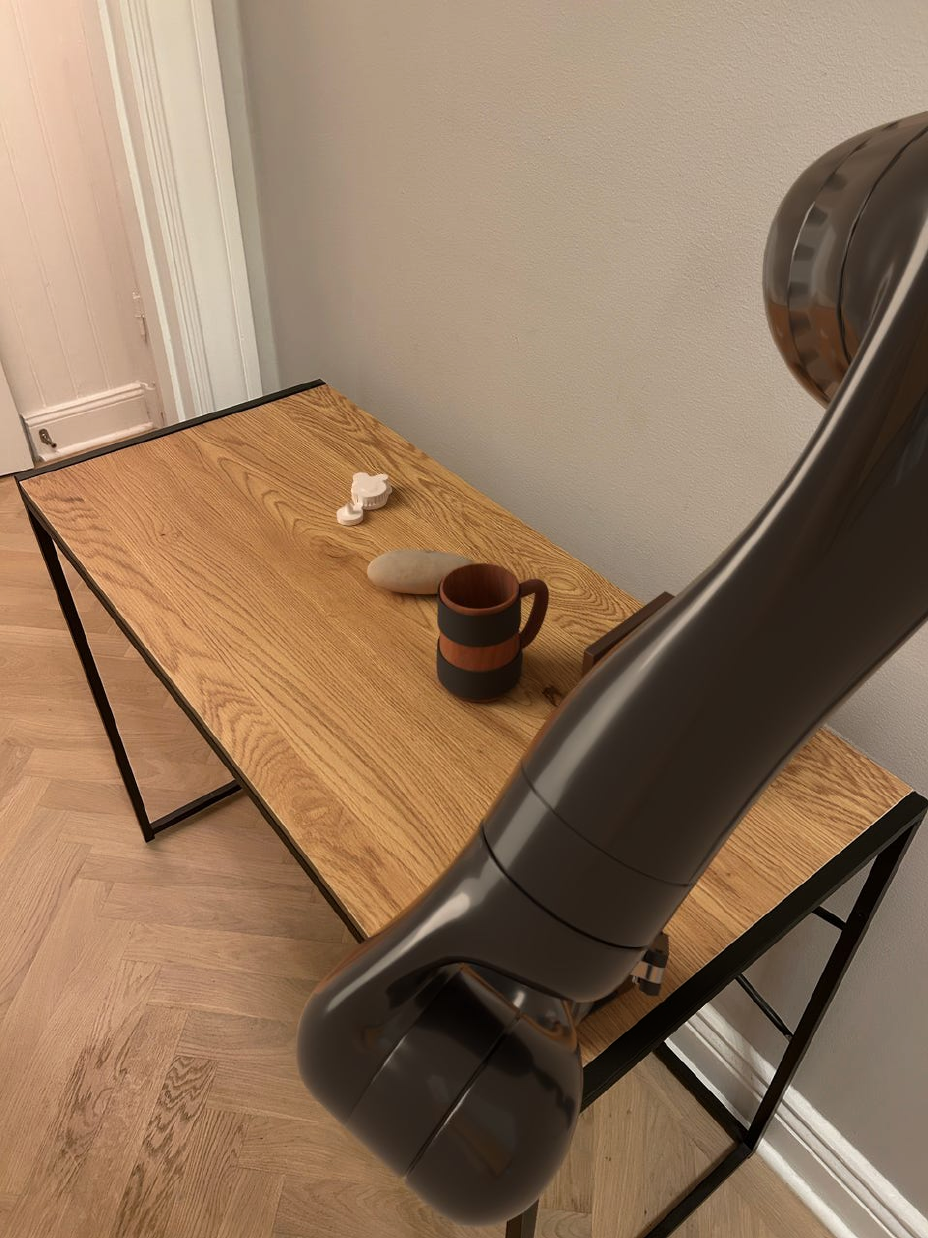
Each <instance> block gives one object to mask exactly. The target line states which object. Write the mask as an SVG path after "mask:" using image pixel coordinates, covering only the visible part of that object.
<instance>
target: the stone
mask: <svg viewBox="0 0 928 1238" xmlns="http://www.w3.org/2000/svg"><path fill="white" fill-rule="evenodd" d="M472 563H475V562H474V561H473V560H472V559H471V558H469V557H466V556H464V555H460V554H457V553H452V552H446V551H439V550H431V549H416V548H415V549H414V548H402V549H401V548H400V549H392V550H388V551H386V552H384V553H382V554H380V555H379V556H377V557H375V558H374V559H372V560H371V562H370V563H369V564H368V566H367V569H366V574H367V577H368V579H369V580H370V582H372V584H373V585H375V586H377V587H378V588H381V589H384V590H387V591H390V592H391V591H392V592H395V593H402V594H413V595H434V594H435V595H437V590H438V586H439V583H440V582H441V580H442V579H443V578H444V577H445V575H446V574H447V573H449V572H450V571H452V570H453V569H455V568H457V567H460V566H463V565H466V564H472Z"/></svg>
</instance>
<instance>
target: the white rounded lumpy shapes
mask: <svg viewBox="0 0 928 1238" xmlns="http://www.w3.org/2000/svg"><path fill="white" fill-rule="evenodd" d="M392 474H393V473H392V472H391V473H390V475H392ZM352 479H353V480H352V481H353V482H352V483H351V488H350V492H351V496H350V497H351V500H352V502H353V503H352V502H346V503H345V505H344V506H342V507H340V508H339V509H338V510H337V511H336V521H337V522H338V523H339V524H340V525H343V526H348V527H349V526H355V525H358V524H361V522H362V521H363V520H364V510H365V511H366V510H367V511H372V510H373V511H374V510H377V509H380V508H382V507H384V506H385V505H386V504H387V502H388V499H389V497H390V496H389V495H391V494H392V492H393V487H392V486H391V483H390V482H389V475H387V474H386V473H378V474H376V475H369V474H368V473H367V472H365V471H363V472H361V471H360V472H356V473H354V474H353V476H352ZM353 504H354V505H353Z"/></svg>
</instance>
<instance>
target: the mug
mask: <svg viewBox="0 0 928 1238" xmlns="http://www.w3.org/2000/svg"><path fill="white" fill-rule="evenodd" d="M533 594H534V595H533ZM436 595H437V612H436V613H437V614H436V615H437V616H436V624H437V627H438V630H439V635H438V638H437V643H436V675H437V679H438V681H439V683H440V684H441V685H442V687H443V688H444V689H446V691H447V692H449V693H450V695H453V696H454V697H456V698H457V699H460V700H461V701H465V702H470V703H477V704H478V703H482V704H483V703H489V702H494V701H497V700H500V699H503V697H505V696H507V695H508V694H509V693H510V692H511V691H512V690H514V689H515V688H516V687H517V685H518V684H519V682H520V681H521V678H522V674H523V662H524V661H523V659H524V658H523V657H524V655H523V654H524V653H523V650H524V649H526V648H527V647H529V646H530V645H531V644H532V643H533V642H534V641H535V639H536V637H537V636H538V634H539V632H540V630H541V628H542V626H543V624H544V621H545V618H546V616H547V611H548V607H549V601H550V600H549V599H550V591H549V587H548V585H547V584H546V582H545V581H543V580H542V579H539V578H530V579H527V580H525V581H522V582H519V580H518V578H517V577H516V575H515V574H514V573H513V572H512V571H510V570H509V569H507V568H505V567H503V566H500V565H497V564H494V563H489V562H474V563H472V564H466V565H463V566H460V567H457V568H455V569H453V570H452V571H450V572H449V573H447V574H446V575H445V577H444V578H443V579H442V580H441V582H440V583H439V586H438V590H437V594H436ZM531 595H533V596H534V597H533V602H532V606H531V610H530V613H529V615H528V618H527V620H526V622H525V624H524V626H523V628H522V629H521V628H520V627H521V625H522V599H523V598H526V597H528V596H531ZM520 629H521V631H520Z"/></svg>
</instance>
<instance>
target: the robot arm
mask: <svg viewBox="0 0 928 1238" xmlns="http://www.w3.org/2000/svg"><path fill="white" fill-rule="evenodd" d="M771 221H772V222H771V223H770V226H769V231H768V233H767V238H766V243H765V248H764V251H763V257H762V271H761V272H762V274H761V275H762V276H761V290H762V299H763V305H764V313H765V314H764V315H765V317H766V321H767V325H768V328H769V333H770V334H771V337H772V340H773V343H774V344H775V347H776V349H777V350H778V352H779V354H780V356H781V359H782V361H783V362H784V364H785V366H786V368H787V370H788V371H789V373H790V374H791V375H792V376H793V378H794V379H795V381H796V382H797V384H799V385H800V386H801V387H802V388H803V390H804V391H805V392H806V393H807V394H808V395H809V396H810V397H811V398H812V399H813V400H814V401H815V402H816V403H817V404H819V406H821V407H822V408H823V409H824V410H825V412H824V414H823V416H822V418H821V419H820V421H819V423H818V425H817V427H816V429H815V430H814V432H813V434H812V436H811V437H810V439H809V440H808V442H807V443H806V445H805V447H804V449H803V450H802V452H801V453H800V455H799V456H798V458H797V459H796V460H795V462H794V464H793V465H792V466H791V467H790V469H789V471H788V473H787V474H786V475H785V477H784V479H783V480H782V481H781V482H780V484H779V485H778V487H777V488H776V489H775V491H774V492H773V493H772V494H771V496H770V497H769V498H768V500H767V501H766V503H764V505H763V506H762V507H761V508H760V509H759V511H758V512H757V513H756V514H755V516H754V517H753V518H752V519H751V521H750V522H749V523H747V525H746V527H744V529H742V530H741V532H740V533H738V535H736V537H735V538H734V539H733V541H731V543H729V544H728V546H727V547H725V549H724V550H723V551H722V552H721V553H720V554H719V555H718V556H717V557H716V559H714V561H713V562H712V563H710V564H709V565H708V566H707V567H706V568H705V569H704V570H703V571H702V572H701V573H699V574H698V575H697V576H696V577H695V578H694V579H692V581H691V582H690V583H689V584H688V585H686V586H685V587H684V588H683V589H682V590H681V591H680V592H679V593H677V594H676V595H674V596H675V597H674V598H673V599H671V600H670V601H669V602H668V603H666V604H665V605H664V606H663V607H662V608H660V609H659V610H658V611H657V612H655V613H654V614H653V615H652V616H650V617H649V618H648V619H647V620H645V621H644V622H643V623H642V624H641V625H639V626H638V627H637V628H636V629H635V630H633V631H632V632H631V633H630V634H629V635H627V636H626V637H625V638H624V639H623V640H621V641H620V642H619V643H618V644H617V645H615V646H614V647H613V648H612V649H611V650H610V651H609V652H608V653H606V654H605V655H604V656H603V657H602V658H601V659H600V660H599V661H598V662H597V663H596V664H595V665H594V666H593V667H592V668H591V669H590V670H589V671H588V672H587V673H586V674H585V675H584V676H583V677H582V678H581V677H580V678H579V680H578V681H577V682H576V683H575V684H574V685H573V686H572V687H571V689H569V691H568V692H567V693H566V694H565V695H564V697H563V698H562V699H561V700H560V701H559V703H558V704H557V705H556V707H555V708H554V709H553V710H552V712H551V713H550V714H549V716H548V717H547V718H546V720H545V722H544V723H543V724H542V725H541V727H540V728H539V730H538V731H537V733H536V734H535V736H534V737H533V738H532V740H531V742H530V743H529V745H528V746H527V748H526V749H525V750H524V752H523V754H522V756H521V757H520V759H519V760H518V762H517V764H515V767H514V768H513V770H512V771H511V773H510V774H509V776H508V778H507V779H506V781H505V782H504V783H503V785H502V787H501V789H500V790H499V791H498V793H497V795H496V796H495V798H494V799H493V801H492V803H491V804H490V805H489V807H488V809H487V810H486V812H485V814H484V816H482V818H481V819H480V821H479V822H478V824H477V826H476V827H475V829H474V830H473V832H472V833H471V835H470V836H469V838H468V839H467V840H466V841H465V842H464V844H463V845H462V847H461V848H460V849H459V850H458V852H457V853H456V855H455V856H454V857H453V858H452V859H451V861H450V862H449V863H448V864H447V865H446V866H445V867H444V868H443V870H442V871H441V872H440V873H439V874H438V876H437V877H435V878H434V879H433V880H432V882H430V884H429V885H428V886H426V887H425V889H424V890H422V892H420V893H419V894H418V895H417V897H416V898H414V899H413V900H412V901H411V902H409V904H408V905H407V906H405V907H404V908H403V909H402V910H401V911H400V912H398V913H396V915H394V917H392V918H391V919H390V920H388V921H387V922H386V923H384V924H383V925H382V926H381V927H380V928H378V929H377V930H376V931H375V932H373V933H372V934H371V935H370V936H368V937H367V938H366V939H364V940H362V942H361V943H359V944H358V945H357V946H356V947H354V948H353V949H352V950H351V951H350V952H348V953H347V954H346V955H345V956H344V957H342V959H341V960H339V961H338V963H336V964H335V965H334V966H333V967H332V968H331V969H330V970H329V971H328V972H327V973H326V974H325V975H324V976H323V977H322V979H321V980H320V981H319V982H318V983H317V985H316V986H315V987H314V989H313V990H312V991H311V994H310V995H309V996H308V998H307V1000H306V1002H305V1004H304V1006H303V1009H302V1011H301V1014H300V1017H299V1021H298V1024H297V1028H296V1035H295V1036H296V1038H295V1058H296V1059H295V1060H296V1065H297V1070H298V1073H299V1077H300V1079H301V1082H302V1083H303V1086H304V1087H305V1088H306V1089H307V1091H308V1092H309V1094H310V1095H311V1096H312V1097H313V1099H314V1100H315V1101H316V1102H317V1103H318V1104H319V1105H320V1106H321V1107H323V1109H324V1110H325V1111H327V1113H328V1114H329V1115H331V1116H332V1117H333V1118H334V1119H335V1120H336V1121H337V1122H338V1123H339V1124H340V1125H342V1126H343V1127H345V1129H346V1130H347V1131H348V1132H349V1133H350V1134H351V1135H352V1136H354V1137H355V1138H356V1139H357V1140H358V1141H359V1143H360V1144H362V1145H363V1146H364V1147H365V1148H366V1149H367V1150H368V1151H369V1152H371V1154H372V1155H373V1156H374V1157H375V1158H376V1159H377V1160H379V1162H380V1163H382V1164H383V1165H384V1166H385V1167H386V1168H387V1169H388V1170H389V1171H390V1172H391V1173H392V1174H393V1175H394V1176H395V1177H396V1178H397V1179H399V1180H402V1179H403V1178H404V1177H405V1179H404V1186H406V1187H407V1188H408V1189H409V1190H410V1191H411V1192H412V1193H413V1194H414V1195H416V1197H417V1198H419V1199H420V1200H421V1202H423V1203H424V1204H425V1205H426V1206H427V1207H428V1208H430V1209H431V1210H432V1211H433V1212H434V1213H436V1214H437V1215H439V1216H440V1217H441V1218H443V1219H445V1220H446V1221H449V1222H451V1223H453V1224H455V1225H458V1226H462V1227H467V1228H488V1227H493V1226H498V1225H502V1224H505V1223H507V1222H509V1221H510V1220H512V1219H514V1218H516V1217H518V1216H519V1215H522V1214H523V1213H524V1212H526V1211H527V1210H528V1209H530V1208H531V1207H532V1206H533V1205H534V1204H535V1203H536V1202H537V1201H538V1200H539V1199H540V1198H541V1197H542V1195H544V1193H545V1192H546V1191H547V1189H548V1188H549V1186H550V1185H551V1183H552V1182H553V1181H554V1179H555V1177H556V1176H557V1174H559V1172H560V1169H561V1167H562V1165H563V1164H564V1162H565V1159H566V1158H567V1155H568V1153H569V1150H570V1148H571V1146H572V1142H573V1139H574V1136H575V1132H576V1128H577V1125H578V1122H579V1118H580V1111H581V1108H582V1107H581V1106H582V1101H583V1090H584V1066H583V1057H582V1050H581V1046H580V1042H579V1038H578V1034H577V1031H576V1028H577V1027H578V1026H579V1025H580V1024H581V1023H580V1021H581V1020H582V1019H583V1018H584V1017H585V1015H587V1014H588V1012H589V1010H590V1009H591V1007H592V1005H593V1003H594V1001H596V1000H599V999H601V998H603V997H605V996H607V995H609V994H610V993H612V992H613V991H614V990H616V989H617V988H618V987H619V986H620V985H621V984H622V983H623V982H624V981H625V980H626V979H627V977H628V976H629V975H630V974H631V975H633V977H632V982H633V983H636V985H638V990H639V991H640V992H642V993H643V994H644V995H645V996H649V997H659V996H660V992H661V989H662V985H663V981H664V977H665V973H666V969H667V964H668V962H669V958H670V941H669V934H667V933H666V932H664V929H665V928H666V926H667V925H668V923H669V922H670V921H671V919H672V918H673V917H674V915H675V914H676V913H677V911H678V910H679V909H680V907H681V906H682V904H683V903H684V902H685V900H686V899H687V897H689V895H690V894H691V892H692V890H693V889H695V888H694V887H695V886H696V885H697V884H698V882H699V880H700V879H701V878H702V877H703V875H704V874H705V873H706V871H707V870H708V868H709V867H710V866H711V864H713V863H712V862H713V861H714V860H715V858H716V857H717V856H718V854H719V853H720V852H721V850H722V849H723V847H724V846H725V844H726V843H727V842H728V840H729V839H730V838H731V836H732V835H733V833H734V832H735V831H736V829H737V828H738V827H739V825H741V823H742V822H743V820H744V819H745V818H746V817H747V815H748V814H749V813H750V811H751V810H752V809H753V807H755V805H756V804H757V803H758V801H759V800H760V799H761V798H762V796H763V795H764V793H766V791H767V790H768V789H769V788H770V786H771V785H772V784H773V783H774V782H775V781H776V779H777V778H778V777H779V776H780V775H781V773H782V772H783V771H784V770H785V769H786V768H787V766H788V765H789V764H790V763H791V762H792V761H793V759H794V758H796V756H797V755H798V754H799V753H800V752H801V751H802V750H803V748H804V747H806V746H807V744H808V743H809V742H810V741H811V740H812V738H814V736H815V735H816V734H817V733H818V732H819V731H820V730H821V728H823V726H824V725H825V724H826V723H827V722H829V721H830V719H831V718H832V717H833V716H834V715H836V713H837V712H838V711H839V710H840V709H841V708H842V707H843V706H844V705H845V704H846V703H847V702H848V701H849V700H850V699H851V698H852V697H853V696H854V695H855V694H856V693H857V692H858V691H859V690H860V689H861V688H862V687H863V686H864V685H865V684H866V683H867V682H868V681H869V680H870V679H871V678H872V677H873V676H874V675H875V674H876V673H877V672H878V671H879V670H880V669H881V668H882V667H883V666H884V665H885V664H886V663H887V662H888V661H889V660H890V659H891V658H892V657H893V656H894V655H895V654H896V653H897V652H898V651H899V650H901V648H903V646H904V645H906V643H908V642H909V640H910V639H912V637H913V636H915V634H917V633H918V632H919V631H920V630H921V629H922V628H923V627H924V626H925V625H926V624H927V623H928V110H925V111H921V112H918V113H914V114H911V115H907V116H903V117H901V118H898V119H895V120H892V121H889V122H885V123H882V124H879V125H877V126H875V127H872V128H870V129H867V130H864V131H862V132H860V133H858V134H856V135H853V136H851V137H849V138H847V139H846V140H844V141H842V142H840V143H839V144H837V145H835V146H834V147H832V148H831V149H828V150H827V151H825V152H824V153H823V154H821V155H819V157H817V158H816V159H815V160H813V162H812V163H810V164H809V165H808V166H807V167H806V168H805V169H804V170H803V171H802V172H801V173H800V174H799V175H798V177H797V178H796V179H795V181H793V183H792V184H791V185H790V187H789V189H788V190H787V191H786V193H785V195H784V196H783V197H782V200H781V201H780V204H779V205H778V207H777V210H776V212H775V215H774V216H773V219H772V220H771ZM579 1023H580V1024H579Z"/></svg>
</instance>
